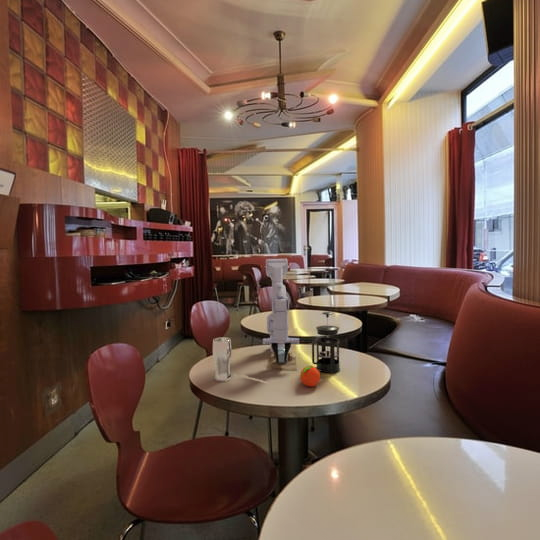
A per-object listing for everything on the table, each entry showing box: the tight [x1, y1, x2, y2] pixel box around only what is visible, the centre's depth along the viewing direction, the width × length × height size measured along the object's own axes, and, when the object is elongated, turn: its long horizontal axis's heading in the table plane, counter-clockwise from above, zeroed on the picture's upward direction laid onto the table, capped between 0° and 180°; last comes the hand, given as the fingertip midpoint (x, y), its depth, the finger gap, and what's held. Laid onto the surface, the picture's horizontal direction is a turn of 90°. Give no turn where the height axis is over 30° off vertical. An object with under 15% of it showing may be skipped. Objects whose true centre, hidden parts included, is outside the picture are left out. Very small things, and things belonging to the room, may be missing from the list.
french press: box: [311, 311, 341, 375], centre depth 143 cm, size 12×9×23 cm
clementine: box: [299, 365, 321, 387], centre depth 127 cm, size 8×7×7 cm
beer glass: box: [212, 336, 232, 382], centre depth 136 cm, size 7×7×15 cm
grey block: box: [276, 347, 288, 364], centre depth 150 cm, size 5×10×5 cm, turn 177°
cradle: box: [265, 352, 298, 372], centre depth 151 cm, size 18×12×3 cm, turn 177°
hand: (281, 361), depth 146 cm, fingers closed on grey block, 2 cm apart
